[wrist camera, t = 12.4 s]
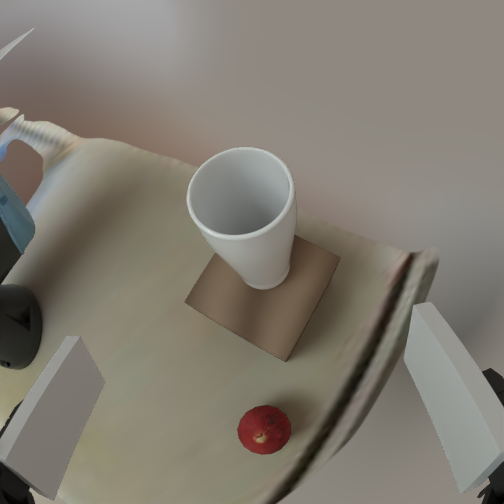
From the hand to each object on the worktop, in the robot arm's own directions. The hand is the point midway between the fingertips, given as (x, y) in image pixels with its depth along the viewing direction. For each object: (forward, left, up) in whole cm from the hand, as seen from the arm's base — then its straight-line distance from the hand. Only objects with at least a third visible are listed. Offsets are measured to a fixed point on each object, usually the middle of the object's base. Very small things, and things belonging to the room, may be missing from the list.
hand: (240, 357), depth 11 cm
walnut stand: (-5, +7, -27) cm, 28 cm away
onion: (+3, -7, -27) cm, 28 cm away
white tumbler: (-5, +8, -19) cm, 22 cm away
